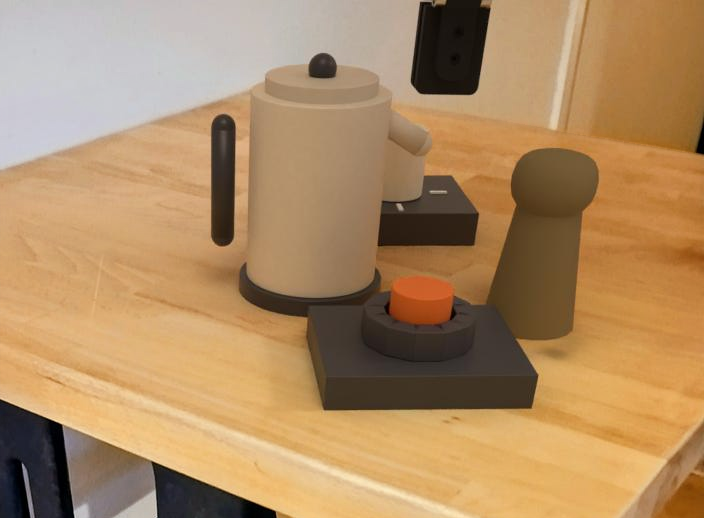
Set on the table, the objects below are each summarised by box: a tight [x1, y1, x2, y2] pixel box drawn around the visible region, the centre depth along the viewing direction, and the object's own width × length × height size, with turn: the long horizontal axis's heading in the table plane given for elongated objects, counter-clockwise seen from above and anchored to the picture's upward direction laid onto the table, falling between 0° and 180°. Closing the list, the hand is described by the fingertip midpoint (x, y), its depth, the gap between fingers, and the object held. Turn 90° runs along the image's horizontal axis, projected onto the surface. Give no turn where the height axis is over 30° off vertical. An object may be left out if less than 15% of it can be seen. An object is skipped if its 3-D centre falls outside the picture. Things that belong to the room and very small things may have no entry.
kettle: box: [210, 52, 434, 318], centre depth 68 cm, size 14×10×15 cm
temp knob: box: [382, 121, 430, 202], centre depth 81 cm, size 5×5×5 cm
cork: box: [484, 147, 600, 341], centre depth 65 cm, size 6×6×11 cm
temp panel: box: [377, 174, 480, 246], centre depth 83 cm, size 12×10×3 cm
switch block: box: [305, 289, 540, 412], centre depth 61 cm, size 12×10×4 cm
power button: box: [389, 275, 455, 324], centre depth 60 cm, size 4×4×2 cm
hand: (443, 90), depth 53 cm, fingers closed
